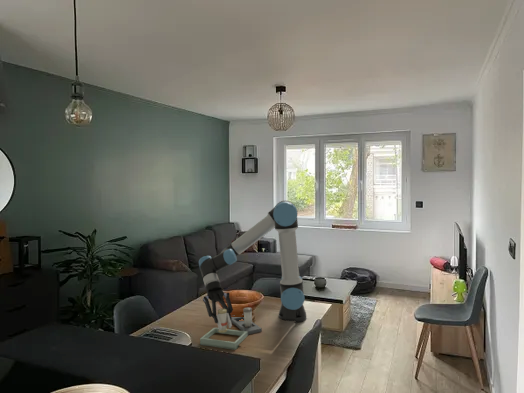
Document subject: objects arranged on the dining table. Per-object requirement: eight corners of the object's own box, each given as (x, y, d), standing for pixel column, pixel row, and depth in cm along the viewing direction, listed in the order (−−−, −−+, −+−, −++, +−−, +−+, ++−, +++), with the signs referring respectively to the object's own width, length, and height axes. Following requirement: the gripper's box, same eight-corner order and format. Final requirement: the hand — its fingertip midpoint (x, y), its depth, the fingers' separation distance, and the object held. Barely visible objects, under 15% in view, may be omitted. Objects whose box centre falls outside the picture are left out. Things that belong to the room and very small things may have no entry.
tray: (247, 337, 187) (247, 331, 187) (235, 349, 174) (235, 343, 174) (214, 333, 194) (214, 327, 194) (200, 344, 181) (200, 338, 181)
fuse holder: (228, 321, 210) (228, 316, 210) (241, 318, 214) (241, 314, 214) (247, 336, 189) (246, 331, 189) (261, 333, 192) (261, 328, 192)
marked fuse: (228, 329, 185) (228, 309, 185) (224, 333, 181) (224, 312, 181) (220, 328, 187) (220, 308, 186) (216, 332, 183) (216, 311, 182)
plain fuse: (253, 326, 198) (252, 307, 197) (251, 330, 194) (250, 310, 193) (245, 326, 199) (244, 307, 199) (243, 329, 195) (242, 310, 195)
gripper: (226, 286, 201) (240, 328, 187) (194, 291, 193) (206, 335, 179) (230, 278, 196) (244, 320, 182) (197, 282, 188) (209, 327, 174)
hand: (225, 327), depth 180 cm, fingers closed on marked fuse, 4 cm apart
